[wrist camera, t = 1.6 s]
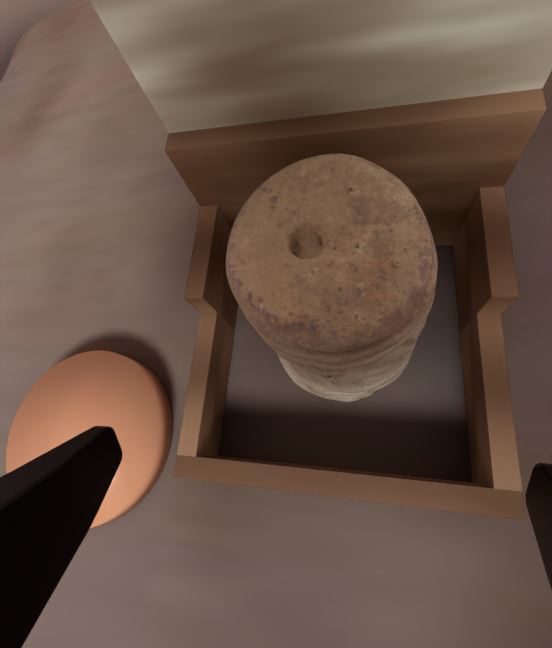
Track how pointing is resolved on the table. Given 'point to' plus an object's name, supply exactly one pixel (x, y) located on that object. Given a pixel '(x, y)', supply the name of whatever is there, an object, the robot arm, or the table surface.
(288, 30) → the cold frame
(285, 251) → the carving
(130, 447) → the terracotta saucer
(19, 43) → the table surface
